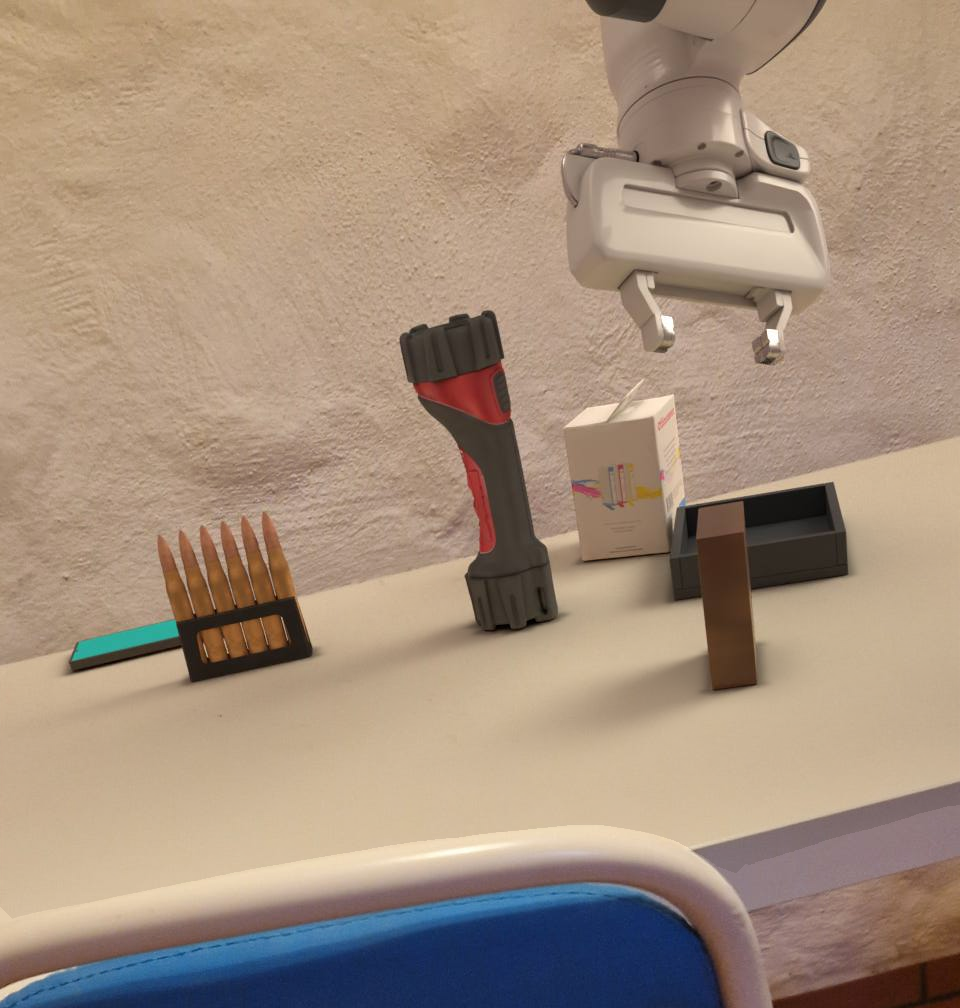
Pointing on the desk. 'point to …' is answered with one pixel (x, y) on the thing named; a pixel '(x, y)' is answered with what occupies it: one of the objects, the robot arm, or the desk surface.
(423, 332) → the flashlight
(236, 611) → the ammunition clip
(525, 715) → the desk surface
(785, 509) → the dark gray tray
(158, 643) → the smartphone
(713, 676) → the walnut block
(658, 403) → the ink box
